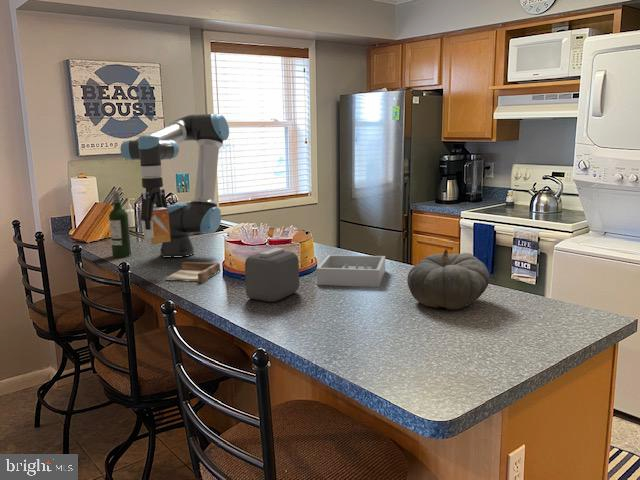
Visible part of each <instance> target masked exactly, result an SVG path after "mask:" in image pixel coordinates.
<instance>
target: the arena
mask: <svg viewBox="0 0 640 480" xmlns="http://www.w3.org/2000/svg"><path fill="white" fill-rule="evenodd" d="M180 265H181V269H179V270H177V271H176V272H174V273H172V274H170V275H168V276H166V277H164V280H165V279H175V280H189V281H188V282H190V281H198V282H203V283H205V282H206V281H205V280H207V279H208V278H210V277H211V276H212V275H214V274H215V273H217V272H218V271H220V272H221V266H220V265H221V264H220V263H219V262H199V261H198V262H194V261H193V262H190V261H183V262H181V264H180ZM217 274H218V273H217ZM214 276H215V275H214ZM211 278H212V277H211ZM211 278H210V279H211ZM208 280H209V279H208ZM208 280H207V281H208ZM204 281H205V282H204ZM198 282H197V283H198Z"/></svg>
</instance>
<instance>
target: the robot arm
mask: <svg viewBox="0 0 640 480" xmlns="http://www.w3.org/2000/svg"><path fill="white" fill-rule="evenodd" d="M229 136H230V128H229V123H228V122H227V119H226V118H225V116H224V115H222V114H219V113H204V114H189V115H185V116H183V117H180V118H178V119H175V120H173V121H170V122H169V124H168V125H167V126H166V127H162V128H159V129H158V130H156V131H153V132H151V133H149V134H146V135H140V136H138V138H136V139H134V140H133V139H131V140H130V139H128V140H125V141H123V142H122V143H121V144H120V149H119V150H120V153H121V156H122V157H123V158H124V159H125V160H130V161H135V160H136V161H137V160H139V164H140V170H139V171H140V173H141V177H142V178H141V186H142V188H143V189H145V193H144V192H143V193H141V195H140V196H141V208H140V220H141V222H143V221H145V228H146V238H154V233H153V221H151V217H152V211H153V208H154V205H155V208H157V207H163V208H168V214H169V227H170V240H171V241H170V242H163V243H161V247H160V251H159V252H160V255H162V256H171V257H174V256H186V255H190V254H193V253H194V252H195V247H194V245H193V242H192V240H191V238H190V234H204V235H206V234H212V233H215V232H217V230H218V229H219V227H220V225H221V222H222V213H221V210H220V208H219V207H218V204H217V201H215V195H216V194H215V192H216V184H217V174H218V173H217V171H218V163H219V153H220V149H221V148H222V147H223V145H224V141H227V140H228V138H229ZM185 141H196V144H197V145H198V146H199V148H198V150H199V151H198V158H197V159H198V160H197V171H196V180H195V190H194V198H193V199H192V200H191V201H190V206H189V205H188V203H187V202H183V203H176V204H171V205H170V204H169V205H168V202H167V200H166V199H167V198H166V193H165V192H166V191H165V189H163V188H162V187H164V184H163V183H164V182H163V177H162V176H163V172H162V170H163V169H162V160H171V159H175V158H176V157H177V156H178V155H179V151H180V147H179V145H178V144H177V143H183V142H185Z"/></svg>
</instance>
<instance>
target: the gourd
mask: <svg viewBox="0 0 640 480" xmlns="http://www.w3.org/2000/svg"><path fill="white" fill-rule="evenodd" d="M490 276H491V275H490V273H489V269H488V268H487V266H486V264H485V263H484V262H482V261H481V260H480V259H479V258H478V257H476V256H474V255H473V254H472V253H469V252H462V253H454V254H453V253H448V249H446V248H445V249H444V251H443V253H433V254H429V255H427V256H426V257H424V258H423V259H421V260H419V261H418V262H417V263H416V264H415V265H414V266H413V267H412V268H411V269H410V270H409V272H408V274H407V278H406V279H407V286H408V289H409V292H410V293H411V294H410V295H411V296H412V297H413V299H414V300H416V301H417V302H418V303H420V304H421V305H424V306H426V307H429V308H435V309H437V308H445V309H448V310H453V311H455V310H461V309H462V308H464V307H466V306H468V305H470V304H472V303H473V302H475V301H476V300H478V299H479V298H480V297H481V296H482V295H483V294H484V293H485V291H486V290H487V288H488V286H489V283H490V280H491V277H490Z"/></svg>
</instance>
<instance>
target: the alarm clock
mask: <svg viewBox="0 0 640 480" xmlns="http://www.w3.org/2000/svg"><path fill="white" fill-rule="evenodd" d="M299 263H300V262H299V257H298V255H297V254H296V253H295V252H293V251H285V248H282V247H273V248H271V249H267V250H264V251H260V252H257V253H254V254H251V255H249V256H248V257H246V259H245V263H244V273H245V275H244V276H245V293H246V297H247V298H248V299H250V300H257V301H263V302H268V303H275V302H278V301H280V300H283V299H284V298H286V297H289V296H291V295H293V294H295V293H296V292H297V291H298V290H299V288H300V269H299V266H300V265H299Z"/></svg>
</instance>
